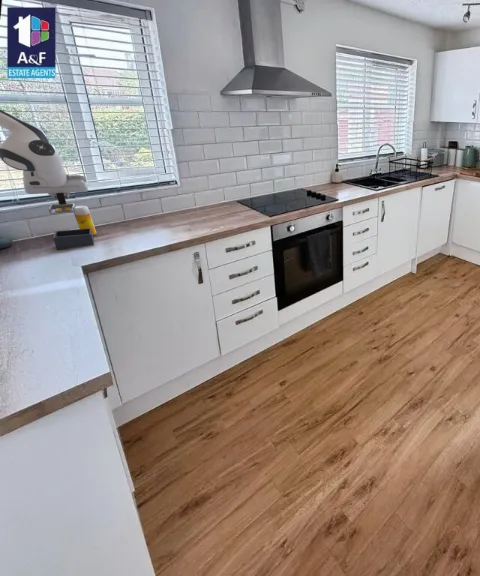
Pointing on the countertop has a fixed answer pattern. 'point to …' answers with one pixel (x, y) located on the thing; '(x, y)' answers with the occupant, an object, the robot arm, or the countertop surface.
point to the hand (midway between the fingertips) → (61, 196)
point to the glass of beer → (84, 218)
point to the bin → (73, 238)
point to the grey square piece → (61, 205)
